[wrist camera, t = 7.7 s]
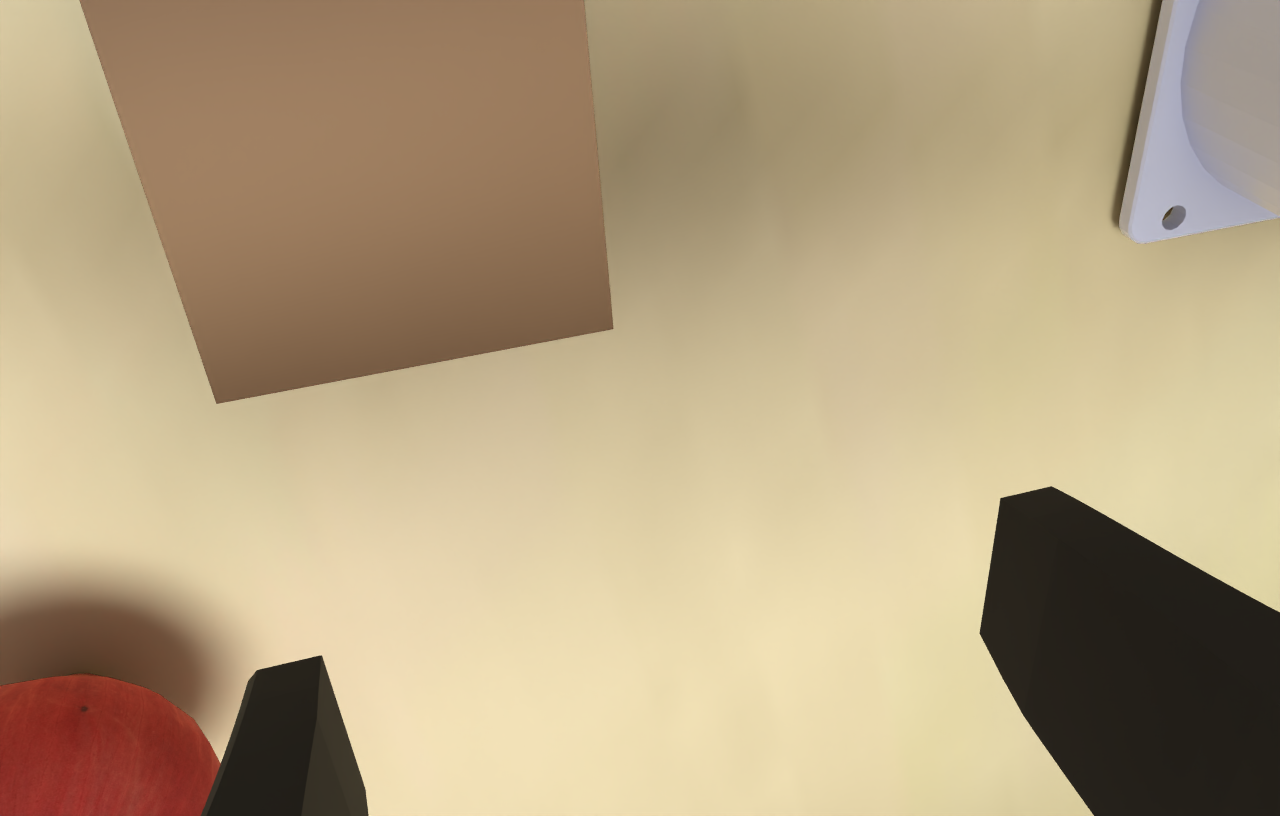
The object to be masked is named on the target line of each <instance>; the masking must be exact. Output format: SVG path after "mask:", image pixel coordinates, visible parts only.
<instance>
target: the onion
mask: <svg viewBox="0 0 1280 816" xmlns="http://www.w3.org/2000/svg"><path fill="white" fill-rule="evenodd" d="M220 765H221V764H220V762H219V760H218V758H217V756H216V754H215V752H214V750H213V748H212V746H211V745H210V743H209V741H208V740H207V738H206V737H205V735H204V734H203V732H202V731H201V729H200V728H199V726H198V725H197V723H196V722H195V720H194V719H193V718H192V717H190V716H189V715H187V714H186V713H185V712H183V711H182V710H181V709H179V708H178V707H176V706H175V705H174V704H172V703H171V702H170V701H168V700H167V699H165V698H164V697H163V696H161V695H160V694H158V693H156V692H154V691H151V690H149V689H147V688H145V687H142V686H138V685H135V684H131V683H128V682H124V681H121V680H117V679H114V678H110V677H103V676H99V675H94V674H90V673H84V674H72V675H68V676H56V677H48V678H42V679H37V680H31V681H25V682H19V683H13V684H7V685H1V686H0V816H201V813H202V811H203V809H204V806H205V804H206V801H207V799H208V796H209V793H210V791H211V788H212V786H213V783H214V780H215V778H216V775H217V772H218V770H219V767H220Z"/></svg>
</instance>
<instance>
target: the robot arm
mask: <svg viewBox="0 0 1280 816" xmlns="http://www.w3.org/2000/svg"><path fill="white" fill-rule="evenodd" d="M1172 207H1173V209H1172V211H1171V214H1170V215H1169V216H1168V217H1167V218H1166V219H1165V220H1163V217H1164V215H1165V213H1166V212H1167V211H1168V210H1169V209H1170V208H1172ZM1276 218H1280V0H1162V5H1161V11H1160V16H1159V21H1158V26H1157V31H1156V36H1155V41H1154V46H1153V51H1152V56H1151V61H1150V66H1149V71H1148V76H1147V81H1146V87H1145V92H1144V97H1143V102H1142V107H1141V112H1140V117H1139V122H1138V127H1137V132H1136V137H1135V142H1134V147H1133V152H1132V158H1131V163H1130V168H1129V173H1128V178H1127V183H1126V188H1125V193H1124V198H1123V203H1122V208H1121V213H1120V218H1119V228H1120V230H1121V232H1122V234H1124V235H1125V236H1127V237H1128V238H1130V239H1131V240H1133V241H1134V242H1136V243H1145V244H1146V243H1151V242H1156V241H1161V240H1167V239H1172V238H1177V237H1182V236H1188V235H1193V234H1198V233H1203V232H1208V231H1214V230H1219V229H1224V228H1229V227H1235V226H1240V225H1245V224H1250V223H1255V222H1261V221H1266V220H1271V219H1276ZM1162 220H1163V221H1162ZM980 635H981V637H982V639H983V641H984V643H985V645H986V647H987V649H988V651H989V653H990V654H991V656H992V658H993V660H994V662H995V664H996V666H997V668H998V670H999V672H1000V674H1001V676H1002V678H1003V680H1004V681H1005V683H1006V685H1007V687H1008V689H1009V690H1010V692H1011V694H1012V696H1013V698H1014V699H1015V701H1016V703H1017V705H1018V707H1019V708H1020V710H1021V712H1022V714H1023V716H1024V717H1025V719H1026V720H1027V721H1028V723H1029V724H1030V726H1031V727H1032V729H1033V730H1034V732H1035V733H1036V735H1037V736H1038V737H1039V739H1040V740H1041V742H1042V743H1043V745H1044V746H1045V747H1046V749H1047V750H1048V752H1049V753H1050V754H1051V756H1052V757H1053V759H1054V760H1055V762H1056V763H1057V764H1058V766H1059V767H1060V769H1061V770H1062V772H1063V773H1064V774H1065V776H1066V777H1067V779H1068V780H1069V781H1070V783H1071V784H1072V786H1073V787H1074V788H1075V790H1076V791H1077V793H1078V794H1079V795H1080V797H1081V798H1082V800H1083V801H1084V802H1085V804H1086V805H1087V807H1088V808H1089V809H1090V811H1091V812H1092V813H1093V815H1094V816H1280V612H1278V611H1276V610H1274V609H1272V608H1270V607H1268V606H1266V605H1264V604H1263V603H1261V602H1259V601H1257V600H1255V599H1253V598H1251V597H1250V596H1248V595H1246V594H1244V593H1242V592H1240V591H1238V590H1237V589H1235V588H1233V587H1231V586H1229V585H1227V584H1226V583H1224V582H1222V581H1220V580H1218V579H1217V578H1215V577H1213V576H1211V575H1209V574H1208V573H1206V572H1204V571H1202V570H1200V569H1199V568H1197V567H1195V566H1193V565H1192V564H1190V563H1188V562H1186V561H1184V560H1183V559H1181V558H1179V557H1177V556H1176V555H1174V554H1172V553H1170V552H1169V551H1167V550H1165V549H1163V548H1162V547H1160V546H1158V545H1156V544H1155V543H1153V542H1151V541H1149V540H1148V539H1146V538H1144V537H1142V536H1141V535H1139V534H1137V533H1135V532H1134V531H1132V530H1130V529H1128V528H1127V527H1125V526H1123V525H1121V524H1120V523H1118V522H1116V521H1114V520H1113V519H1111V518H1109V517H1107V516H1106V515H1104V514H1102V513H1100V512H1098V511H1097V510H1095V509H1093V508H1091V507H1090V506H1088V505H1086V504H1084V503H1082V502H1080V501H1079V500H1077V499H1075V498H1073V497H1071V496H1069V495H1067V494H1065V493H1064V492H1062V491H1060V490H1058V489H1056V488H1054V487H1052V486H1051V487H1047V488H1042V489H1038V490H1034V491H1029V492H1025V493H1021V494H1017V495H1012V496H1008V497H1004V498H1001V499H1000V506H999V512H998V519H997V525H996V531H995V538H994V544H993V551H992V557H991V564H990V570H989V576H988V583H987V589H986V596H985V602H984V609H983V615H982V622H981V628H980ZM201 816H368V807H367V799H366V790H365V787H364V784H363V781H362V777H361V774H360V771H359V768H358V765H357V762H356V759H355V756H354V753H353V750H352V747H351V744H350V741H349V738H348V734H347V731H346V728H345V725H344V722H343V719H342V716H341V713H340V710H339V707H338V704H337V701H336V698H335V695H334V691H333V688H332V685H331V682H330V679H329V676H328V673H327V670H326V667H325V664H324V661H323V658H322V655H321V656H316V657H312V658H308V659H303V660H299V661H295V662H290V663H286V664H282V665H277V666H273V667H269V668H264V669H260V670H257V671H256V672H255V673H254V675H253V676H252V677H251V678H250V680H249V681H248V683H247V687H246V690H245V693H244V697H243V700H242V703H241V707H240V710H239V713H238V716H237V719H236V722H235V725H234V728H233V731H232V734H231V737H230V740H229V742H228V745H227V748H226V751H225V754H224V756H223V759H222V762H221V765H220V767H219V770H218V772H217V775H216V778H215V780H214V783H213V786H212V788H211V791H210V793H209V796H208V799H207V801H206V804H205V806H204V809H203V811H202V813H201Z"/></svg>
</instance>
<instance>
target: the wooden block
mask: <svg viewBox="0 0 1280 816" xmlns="http://www.w3.org/2000/svg"><path fill="white" fill-rule="evenodd" d="M80 3H81V6H82V9H83V12H84V15H85V18H86V21H87V24H88V27H89V30H90V33H91V36H92V39H93V41H94V44H95V47H96V50H97V53H98V56H99V59H100V62H101V65H102V68H103V71H104V74H105V77H106V80H107V83H108V86H109V89H110V92H111V94H112V97H113V100H114V103H115V106H116V109H117V112H118V115H119V118H120V121H121V124H122V127H123V130H124V133H125V136H126V139H127V142H128V145H129V147H130V150H131V153H132V156H133V159H134V162H135V165H136V168H137V171H138V174H139V177H140V180H141V183H142V186H143V189H144V192H145V195H146V197H147V200H148V203H149V206H150V209H151V212H152V215H153V218H154V221H155V224H156V227H157V230H158V233H159V236H160V239H161V242H162V245H163V248H164V250H165V253H166V256H167V259H168V262H169V265H170V268H171V271H172V274H173V277H174V280H175V283H176V286H177V289H178V292H179V295H180V298H181V300H182V303H183V306H184V309H185V312H186V315H187V318H188V321H189V324H190V327H191V330H192V333H193V336H194V339H195V342H196V345H197V348H198V351H199V353H200V356H201V359H202V362H203V365H204V368H205V371H206V374H207V377H208V380H209V383H210V386H211V389H212V392H213V395H214V398H215V401H216V404H218V403H224V402H229V401H234V400H239V399H245V398H250V397H255V396H261V395H266V394H271V393H277V392H282V391H287V390H292V389H298V388H303V387H308V386H314V385H319V384H324V383H330V382H335V381H340V380H345V379H351V378H356V377H361V376H367V375H372V374H377V373H383V372H388V371H393V370H399V369H404V368H409V367H414V366H420V365H425V364H430V363H436V362H441V361H446V360H452V359H457V358H462V357H467V356H473V355H478V354H483V353H489V352H494V351H499V350H505V349H510V348H515V347H520V346H526V345H531V344H536V343H542V342H547V341H552V340H558V339H563V338H568V337H573V336H579V335H584V334H589V333H595V332H600V331H605V330H611V329H613V319H612V308H611V297H610V286H609V274H608V263H607V252H606V241H605V230H604V219H603V207H602V196H601V185H600V174H599V163H598V152H597V140H596V129H595V118H594V107H593V96H592V85H591V73H590V62H589V51H588V40H587V29H586V18H585V6H584V0H80Z"/></svg>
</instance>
